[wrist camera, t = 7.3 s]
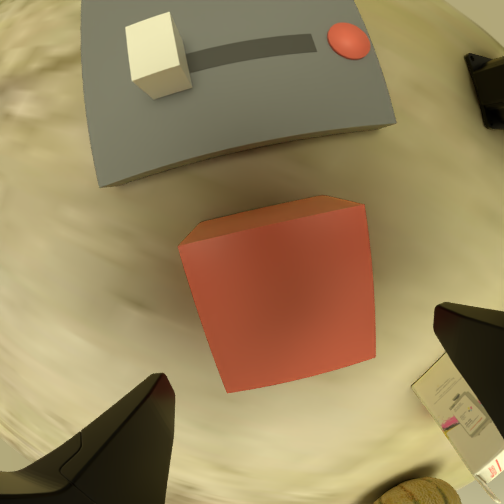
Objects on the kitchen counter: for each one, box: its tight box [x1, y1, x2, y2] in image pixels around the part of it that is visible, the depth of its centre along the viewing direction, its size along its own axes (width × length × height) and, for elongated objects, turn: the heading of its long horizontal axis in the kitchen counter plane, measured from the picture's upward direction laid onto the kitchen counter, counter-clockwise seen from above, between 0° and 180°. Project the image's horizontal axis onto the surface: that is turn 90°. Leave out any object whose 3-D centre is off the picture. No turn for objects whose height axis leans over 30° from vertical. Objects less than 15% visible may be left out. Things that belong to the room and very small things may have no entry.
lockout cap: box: [178, 195, 376, 393], centre depth 14 cm, size 7×7×6 cm
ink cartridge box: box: [412, 353, 504, 504], centre depth 14 cm, size 9×5×15 cm, turn 45°
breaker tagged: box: [125, 12, 192, 99], centre depth 10 cm, size 2×3×3 cm, turn 13°
